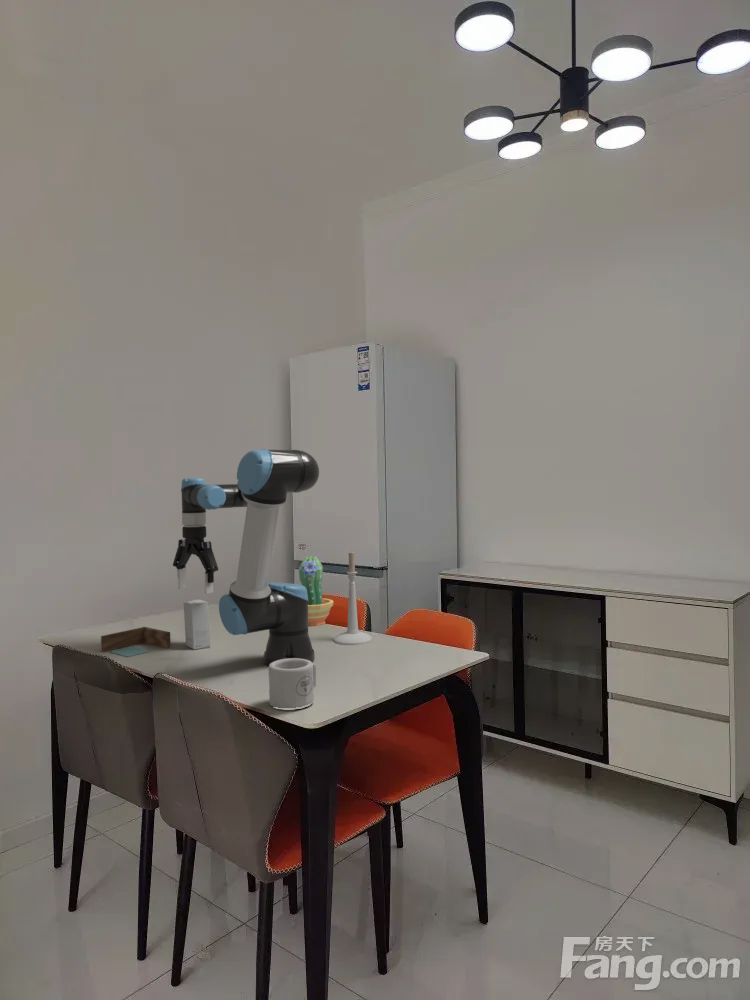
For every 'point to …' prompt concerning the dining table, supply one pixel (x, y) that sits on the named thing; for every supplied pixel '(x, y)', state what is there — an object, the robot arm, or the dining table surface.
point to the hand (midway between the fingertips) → (195, 590)
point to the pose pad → (129, 651)
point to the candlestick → (352, 613)
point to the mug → (291, 682)
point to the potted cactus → (314, 590)
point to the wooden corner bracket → (135, 638)
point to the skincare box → (196, 624)
